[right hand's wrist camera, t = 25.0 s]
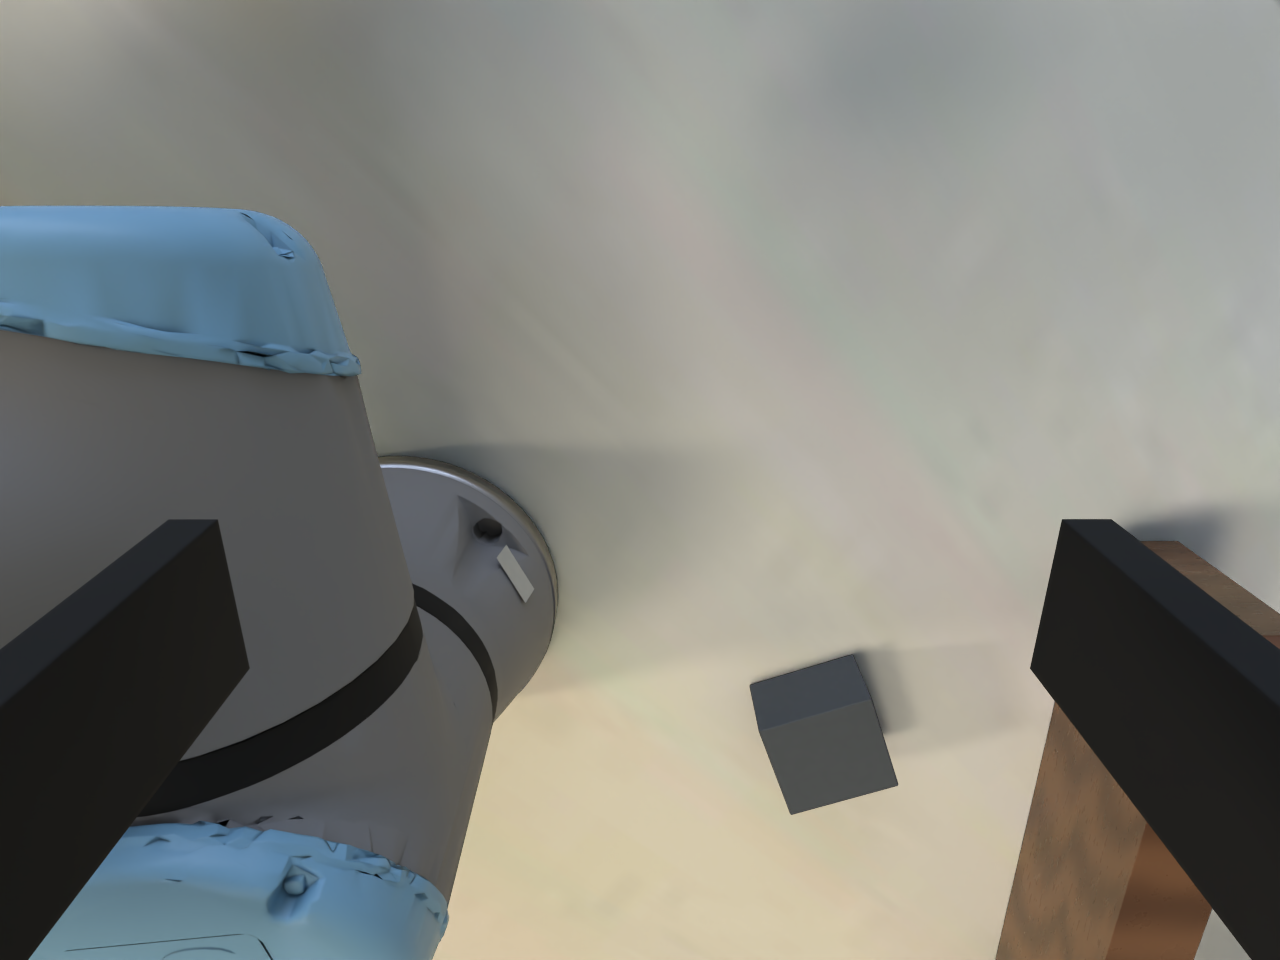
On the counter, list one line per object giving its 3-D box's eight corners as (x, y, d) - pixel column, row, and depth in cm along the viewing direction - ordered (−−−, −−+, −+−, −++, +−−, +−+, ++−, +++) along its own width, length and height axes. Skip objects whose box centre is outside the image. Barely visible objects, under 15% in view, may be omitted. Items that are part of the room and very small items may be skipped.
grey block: (779, 764, 48) (790, 815, 44) (749, 684, 46) (758, 731, 42) (878, 736, 47) (898, 786, 43) (852, 653, 45) (871, 698, 41)
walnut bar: (1054, 991, 55) (1128, 1141, 46) (987, 991, 55) (1050, 1141, 46) (1178, 540, 42) (1311, 635, 34) (1091, 540, 42) (1203, 635, 34)
